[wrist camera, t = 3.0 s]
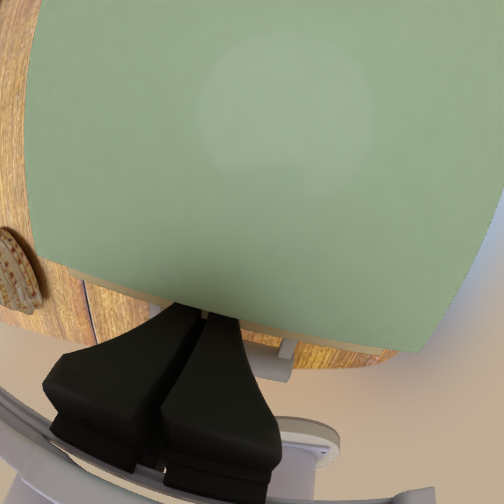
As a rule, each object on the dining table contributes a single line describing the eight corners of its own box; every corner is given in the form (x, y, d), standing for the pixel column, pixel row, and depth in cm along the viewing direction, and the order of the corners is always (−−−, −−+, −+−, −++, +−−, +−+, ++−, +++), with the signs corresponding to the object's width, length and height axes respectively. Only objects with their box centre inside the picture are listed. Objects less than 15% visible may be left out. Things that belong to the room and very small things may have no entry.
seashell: (40, 335, 22) (-25, 310, 18) (53, 293, 26) (-6, 271, 23) (38, 278, 18) (-38, 249, 14) (59, 235, 22) (-9, 210, 19)
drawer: (326, 328, 17) (328, 426, 11) (146, 283, 18) (89, 360, 12) (417, 24, 9) (494, -18, 3) (178, -18, 9) (100, -71, 3)
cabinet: (370, 233, 15) (418, 354, 7) (145, 182, 16) (36, 255, 8) (425, -1, 8) (516, -60, 1) (184, -43, 9) (95, -114, 1)
